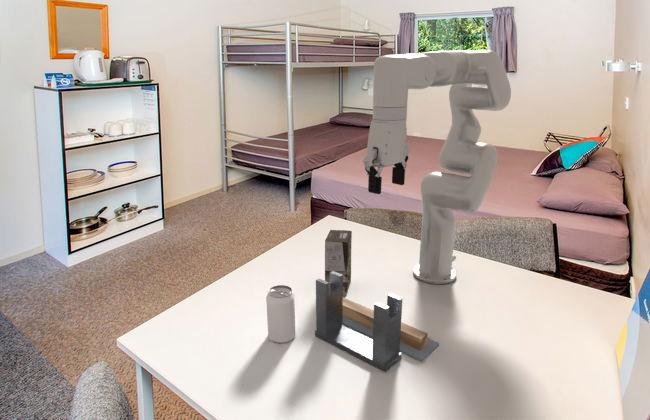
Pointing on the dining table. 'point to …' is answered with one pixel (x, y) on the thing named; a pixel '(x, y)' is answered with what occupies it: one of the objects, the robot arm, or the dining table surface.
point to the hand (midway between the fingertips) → (386, 188)
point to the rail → (366, 317)
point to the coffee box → (338, 256)
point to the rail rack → (330, 329)
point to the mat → (404, 348)
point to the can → (281, 314)
